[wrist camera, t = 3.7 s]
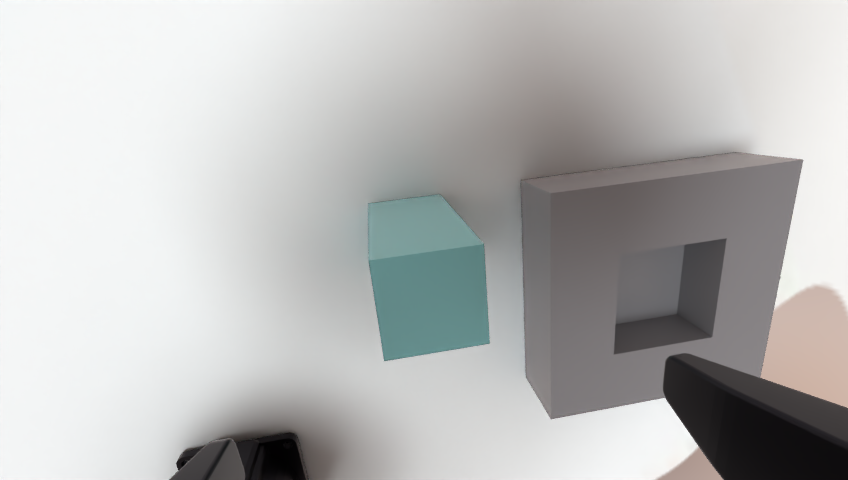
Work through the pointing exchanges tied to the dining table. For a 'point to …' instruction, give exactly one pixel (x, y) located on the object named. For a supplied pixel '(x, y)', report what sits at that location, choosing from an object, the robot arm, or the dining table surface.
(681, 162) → the socket block
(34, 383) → the dining table surface
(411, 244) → the teal rectangular block
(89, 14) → the dining table surface
